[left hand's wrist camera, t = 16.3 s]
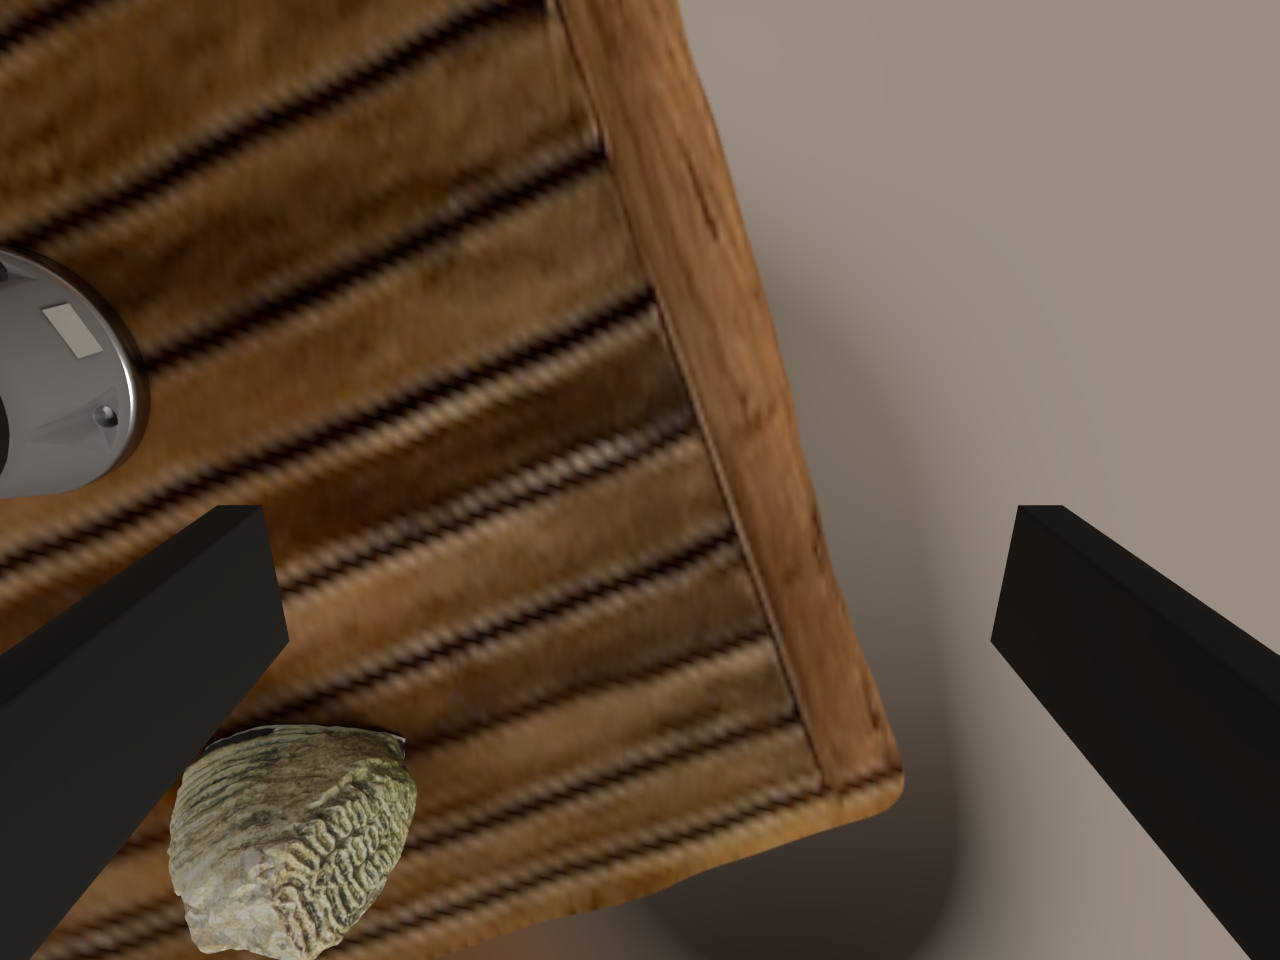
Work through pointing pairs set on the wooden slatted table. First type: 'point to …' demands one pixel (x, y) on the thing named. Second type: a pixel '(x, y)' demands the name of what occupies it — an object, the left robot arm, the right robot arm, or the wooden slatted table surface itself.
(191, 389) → the wooden slatted table surface
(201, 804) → the fossil
